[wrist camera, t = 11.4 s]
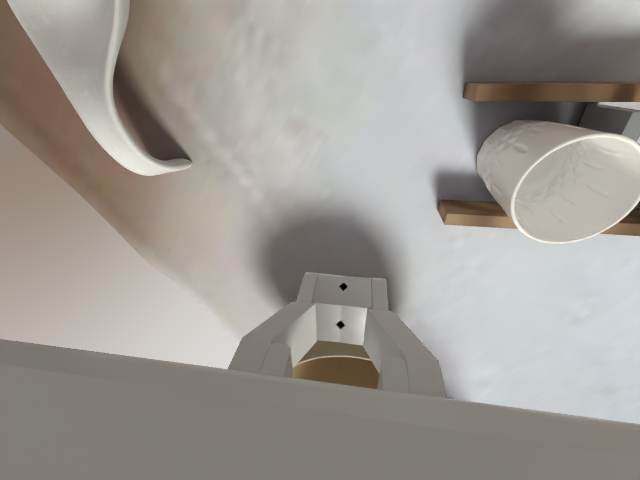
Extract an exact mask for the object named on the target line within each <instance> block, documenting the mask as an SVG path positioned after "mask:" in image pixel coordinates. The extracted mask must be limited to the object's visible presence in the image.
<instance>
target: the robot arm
mask: <svg viewBox="0 0 640 480" xmlns="http://www.w3.org/2000/svg"><path fill="white" fill-rule="evenodd" d="M317 340H319V341H331V342H341V343H348V344H355V345H363V346H364V349H365V350H366V352H367V354H368V355H369V357H370V359H371V361H372V362H373V364H374V366H375V368H376V369H377V371H378V373H379V380H378V386H377V389H372V388H364V387H357V386H349V385H342V384H334V383H327V382H319V381H312V380H304V379H297V378H294V376H293V368H294V367H295V365H296V364H297V363H298V362H299V361H300V360H301V359H302V358H303V356H304V355H305V354H306V353H307V352H308V351H309V350H310V349H311V347H312V346H313V345H314V344H315V343H316V342H317ZM0 480H640V424H635V423H627V422H620V421H612V420H604V419H597V418H589V417H582V416H575V415H567V414H560V413H552V412H545V411H537V410H530V409H522V408H515V407H507V406H500V405H492V404H485V403H477V402H470V401H462V400H455V399H447V396H446V391H445V387H444V383H443V378H442V374H441V370H440V365H439V361H438V360H437V359H436V358H435V357H434V356H433V355H432V353H431V352H430V351H429V350H428V349H427V348H426V347H425V346H424V345H423V344H422V342H421V341H420V340H419V339H418V338H417V337H416V336H415V335H414V334H413V333H412V331H411V330H410V329H409V328H408V327H407V326H406V325H405V324H404V323H403V322H402V321H401V319H400V318H399V317H398V316H397V315H396V314H395V313H394V312H393V311H389V309H388V296H387V284H386V279H385V278H366V277H352V276H342V275H332V274H323V273H311V272H306V273H305V274H304V276H303V280H302V283H301V286H300V289H299V293H298V296H297V299H296V302H295V301H292V302H290V303H289V304H287V305H286V306H285V307H283V308H282V309H281V310H279V311H278V312H277V313H275V314H274V315H273V316H271V317H270V318H269V319H267V320H266V321H264V322H263V323H262V324H260V325H259V326H258V327H256V328H255V329H254V330H252V331H251V332H250V333H248V334H247V335H245V336H244V337H243V338H242V340H241V342H240V344H239V346H238V348H237V350H236V353H235V355H234V357H233V359H232V361H231V363H230V365H229V368H228V369H221V368H213V367H207V366H199V365H191V364H184V363H176V362H169V361H161V360H154V359H146V358H139V357H131V356H124V355H116V354H108V353H101V352H94V351H86V350H78V349H71V348H63V347H56V346H48V345H40V344H33V343H24V342H18V341H10V340H2V339H0Z"/></svg>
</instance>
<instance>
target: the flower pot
mask: <svg viewBox="0 0 640 480" xmlns="http://www.w3.org/2000/svg"><path fill="white" fill-rule="evenodd" d="M293 376H294V378H297V379H304V380H312V381H319V382H327V383H334V384H342V385H349V386H357V387H364V388H372V389H377V386H378V380H379V373H378V371H377V369H376V368H375V366H374V364H373V362H372V361H371V359H370V357H369V355H368V354H367V352H366V350H365V349H364V346H363V345H355V344H348V343H341V342H331V341H319V340H317V342H316V343H315V344H314V345H313V346H312V347H311V349H310V350H309V351H308V352H307V353H306V354H305V355H304V356H303V358H302V359H301V360H300V361H299V362H298V363H297V364H296V365H295V367H294V368H293Z"/></svg>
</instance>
